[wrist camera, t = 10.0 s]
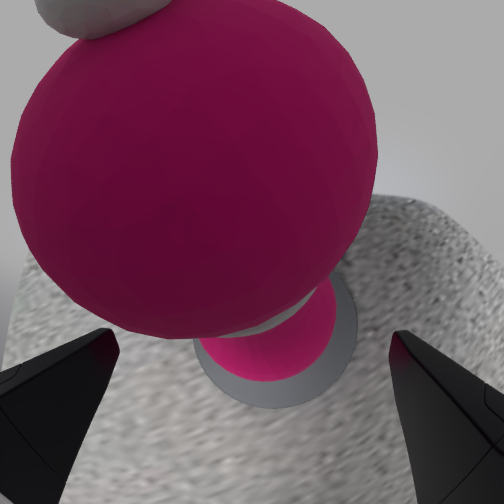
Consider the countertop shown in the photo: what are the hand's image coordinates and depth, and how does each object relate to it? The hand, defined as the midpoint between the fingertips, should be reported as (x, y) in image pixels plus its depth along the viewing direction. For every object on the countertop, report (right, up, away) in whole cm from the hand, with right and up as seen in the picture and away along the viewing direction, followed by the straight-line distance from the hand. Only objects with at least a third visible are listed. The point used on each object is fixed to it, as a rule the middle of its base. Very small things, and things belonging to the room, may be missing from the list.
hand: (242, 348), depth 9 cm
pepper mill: (+2, -2, +11) cm, 11 cm away
